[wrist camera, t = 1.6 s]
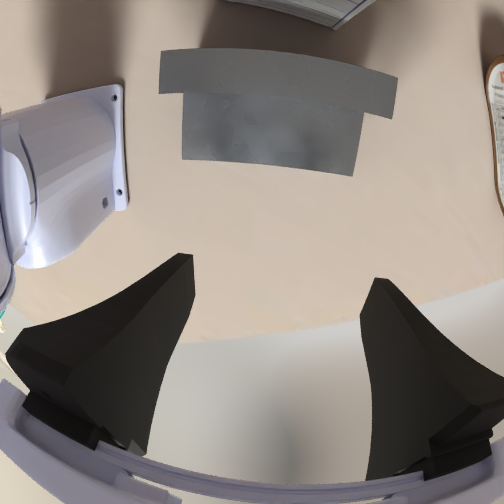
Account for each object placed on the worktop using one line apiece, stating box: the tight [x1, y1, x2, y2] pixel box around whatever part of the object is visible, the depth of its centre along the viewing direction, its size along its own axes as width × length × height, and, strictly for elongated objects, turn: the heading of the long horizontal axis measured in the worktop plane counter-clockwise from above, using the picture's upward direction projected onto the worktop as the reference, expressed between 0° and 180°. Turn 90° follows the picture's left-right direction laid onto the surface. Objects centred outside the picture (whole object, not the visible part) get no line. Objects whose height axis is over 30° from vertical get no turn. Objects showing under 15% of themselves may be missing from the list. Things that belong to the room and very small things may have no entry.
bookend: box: [159, 48, 398, 176], centre depth 13 cm, size 6×10×6 cm, turn 85°
